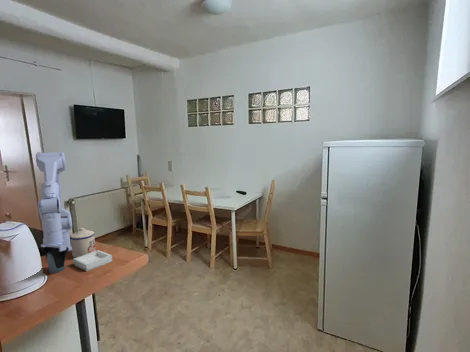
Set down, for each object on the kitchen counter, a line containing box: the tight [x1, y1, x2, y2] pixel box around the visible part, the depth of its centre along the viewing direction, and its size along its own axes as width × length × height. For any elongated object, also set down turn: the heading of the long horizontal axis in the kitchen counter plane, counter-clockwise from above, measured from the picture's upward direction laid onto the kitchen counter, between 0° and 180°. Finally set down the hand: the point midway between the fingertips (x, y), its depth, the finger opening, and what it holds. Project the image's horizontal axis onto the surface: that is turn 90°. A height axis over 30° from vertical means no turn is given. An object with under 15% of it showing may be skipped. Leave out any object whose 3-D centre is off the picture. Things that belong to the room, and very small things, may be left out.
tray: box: [72, 249, 113, 272], centre depth 104 cm, size 10×10×2 cm
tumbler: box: [46, 252, 66, 274], centre depth 99 cm, size 5×5×7 cm
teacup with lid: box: [70, 227, 97, 259], centre depth 114 cm, size 12×9×12 cm
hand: (56, 265), depth 99 cm, fingers open, 6 cm apart
